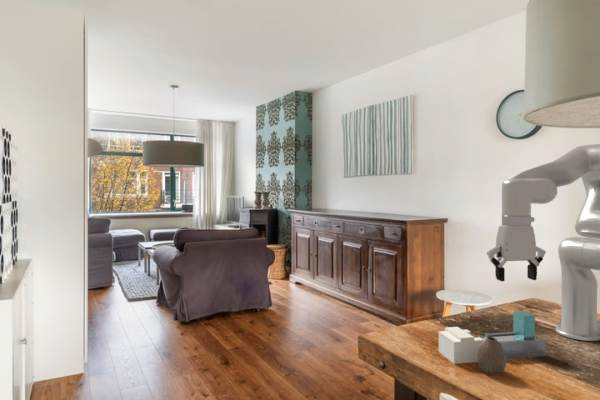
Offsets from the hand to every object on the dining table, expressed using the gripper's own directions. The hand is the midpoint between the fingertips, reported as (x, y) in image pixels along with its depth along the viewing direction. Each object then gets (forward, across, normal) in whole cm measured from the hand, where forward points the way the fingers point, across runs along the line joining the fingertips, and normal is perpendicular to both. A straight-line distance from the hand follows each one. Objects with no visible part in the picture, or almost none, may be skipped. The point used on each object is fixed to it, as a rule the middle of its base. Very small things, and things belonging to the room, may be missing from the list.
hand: (516, 279), depth 118 cm
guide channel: (+21, +1, +1) cm, 21 cm away
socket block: (+21, +17, +3) cm, 27 cm away
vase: (+21, +15, +12) cm, 29 cm away
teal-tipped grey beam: (+20, +3, +1) cm, 20 cm away
